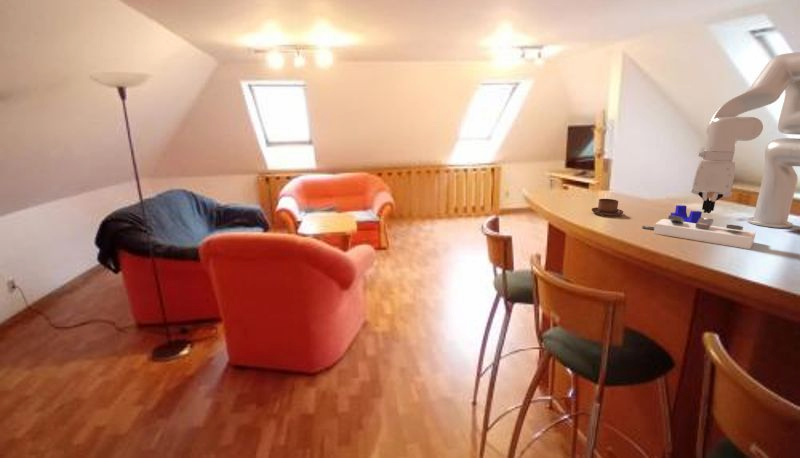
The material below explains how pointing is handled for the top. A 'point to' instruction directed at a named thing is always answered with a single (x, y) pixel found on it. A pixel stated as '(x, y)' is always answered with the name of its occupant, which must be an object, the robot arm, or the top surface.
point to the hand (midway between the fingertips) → (707, 212)
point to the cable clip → (682, 213)
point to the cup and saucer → (607, 208)
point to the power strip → (705, 233)
